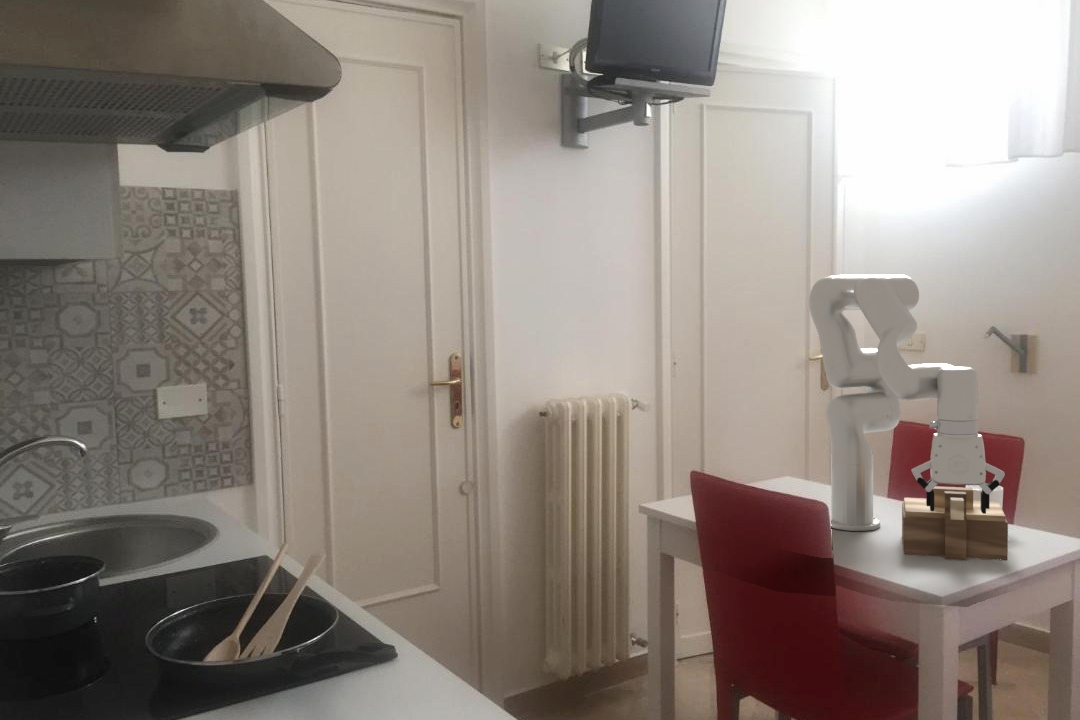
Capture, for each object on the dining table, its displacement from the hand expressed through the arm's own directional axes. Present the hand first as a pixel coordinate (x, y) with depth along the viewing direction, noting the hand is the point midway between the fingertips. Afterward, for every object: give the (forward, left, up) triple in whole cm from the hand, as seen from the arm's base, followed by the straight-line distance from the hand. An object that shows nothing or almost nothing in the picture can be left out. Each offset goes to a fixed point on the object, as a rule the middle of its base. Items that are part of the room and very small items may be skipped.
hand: (957, 510), depth 190 cm
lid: (-12, 0, -4) cm, 13 cm away
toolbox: (-12, 0, -11) cm, 17 cm away
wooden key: (-4, 0, -2) cm, 4 cm away
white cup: (-30, +8, -11) cm, 33 cm away
